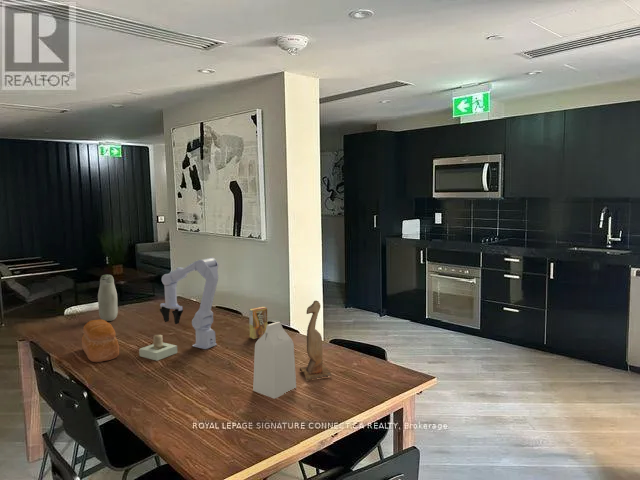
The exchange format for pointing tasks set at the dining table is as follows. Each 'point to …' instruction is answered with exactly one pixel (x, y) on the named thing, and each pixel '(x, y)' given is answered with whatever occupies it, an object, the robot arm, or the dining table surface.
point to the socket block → (158, 351)
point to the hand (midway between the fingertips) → (171, 322)
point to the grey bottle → (107, 298)
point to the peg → (158, 342)
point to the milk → (274, 362)
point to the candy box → (257, 322)
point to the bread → (99, 341)
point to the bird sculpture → (314, 348)
